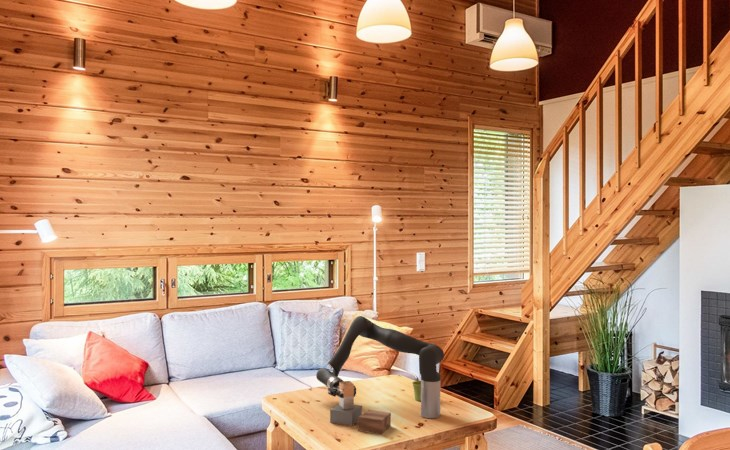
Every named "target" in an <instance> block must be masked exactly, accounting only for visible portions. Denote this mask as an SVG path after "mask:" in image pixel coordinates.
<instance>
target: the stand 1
mask: <svg viewBox="0 0 730 450" xmlns="http://www.w3.org/2000/svg"><path fill="white" fill-rule="evenodd" d="M329 412H330V413H329V421H330V423H331V424H332V423H333V424H337V425H344V426H349V427H352V426H354V425H355V424H356V423H358V417H359V416H360V415H362V414H363V405H359V404H354V408H351V409H343V408H341V407H340V406H339V403H338V404H337V405H335V406H333V407H332V408H330V409H329Z"/></svg>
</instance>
